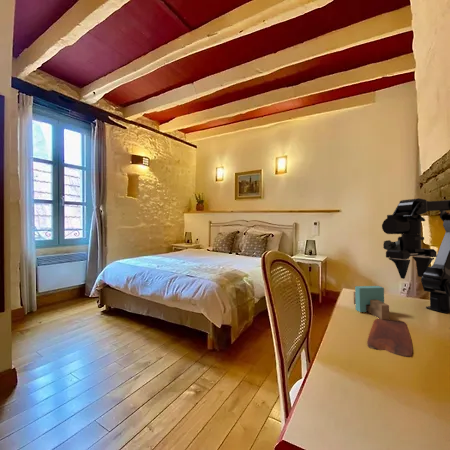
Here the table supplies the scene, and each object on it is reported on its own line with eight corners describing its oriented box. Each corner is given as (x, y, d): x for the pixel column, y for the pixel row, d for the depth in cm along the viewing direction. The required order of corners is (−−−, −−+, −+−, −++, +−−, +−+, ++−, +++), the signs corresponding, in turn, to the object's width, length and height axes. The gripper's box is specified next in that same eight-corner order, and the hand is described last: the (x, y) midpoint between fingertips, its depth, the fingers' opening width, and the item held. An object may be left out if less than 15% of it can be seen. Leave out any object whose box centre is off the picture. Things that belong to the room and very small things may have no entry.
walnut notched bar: (353, 303, 102) (353, 291, 102) (359, 303, 102) (359, 291, 102) (381, 320, 84) (381, 305, 84) (389, 320, 84) (389, 305, 84)
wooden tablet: (413, 361, 60) (413, 354, 60) (365, 350, 66) (365, 343, 66) (410, 324, 82) (409, 319, 82) (374, 318, 88) (374, 313, 88)
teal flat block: (379, 309, 95) (378, 285, 95) (384, 312, 92) (383, 287, 92) (355, 310, 95) (355, 286, 95) (360, 312, 92) (359, 288, 92)
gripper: (405, 233, 101) (405, 272, 101) (371, 233, 94) (372, 275, 94) (437, 234, 90) (437, 277, 90) (402, 234, 84) (402, 281, 84)
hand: (411, 277), depth 90 cm, fingers open, 9 cm apart
